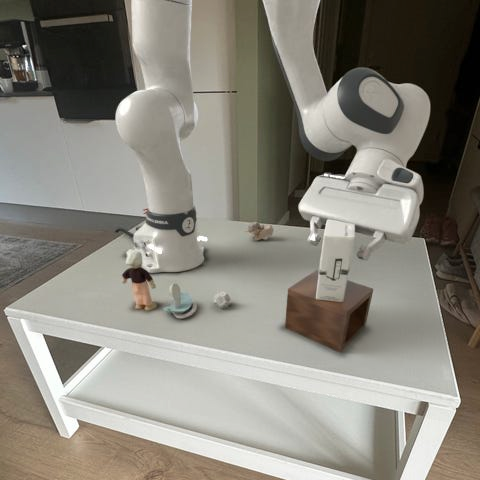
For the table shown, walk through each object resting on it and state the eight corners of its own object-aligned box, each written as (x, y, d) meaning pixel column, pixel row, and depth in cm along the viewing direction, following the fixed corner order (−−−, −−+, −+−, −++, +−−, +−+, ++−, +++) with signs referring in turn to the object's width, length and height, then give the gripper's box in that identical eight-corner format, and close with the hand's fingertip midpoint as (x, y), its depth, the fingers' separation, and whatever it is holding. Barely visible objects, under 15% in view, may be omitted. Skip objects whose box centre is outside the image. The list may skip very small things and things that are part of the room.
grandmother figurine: (163, 302, 80) (155, 248, 73) (158, 311, 77) (149, 255, 70) (129, 300, 81) (118, 246, 74) (123, 310, 78) (110, 254, 70)
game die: (218, 300, 81) (217, 288, 79) (233, 304, 79) (233, 292, 78) (210, 308, 78) (209, 296, 76) (226, 312, 77) (225, 299, 75)
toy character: (251, 242, 113) (243, 224, 111) (275, 233, 110) (268, 215, 108) (249, 247, 110) (241, 229, 107) (273, 238, 107) (266, 220, 104)
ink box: (318, 277, 70) (325, 217, 63) (345, 280, 69) (355, 219, 62) (314, 300, 63) (322, 234, 57) (344, 303, 62) (355, 237, 56)
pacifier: (202, 305, 79) (177, 300, 81) (201, 280, 75) (175, 275, 77) (186, 323, 73) (160, 317, 75) (184, 297, 70) (157, 291, 71)
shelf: (284, 327, 72) (287, 288, 67) (312, 307, 78) (316, 269, 73) (340, 352, 65) (347, 311, 60) (365, 328, 71) (373, 288, 66)
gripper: (313, 160, 66) (279, 228, 65) (431, 177, 55) (391, 258, 54) (323, 181, 71) (291, 244, 71) (433, 200, 60) (396, 275, 59)
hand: (335, 250), depth 62 cm, fingers open, 8 cm apart
